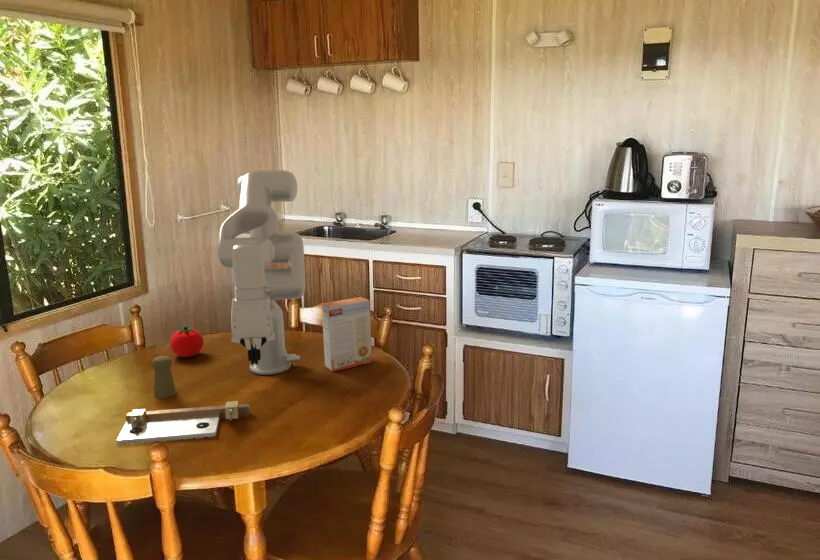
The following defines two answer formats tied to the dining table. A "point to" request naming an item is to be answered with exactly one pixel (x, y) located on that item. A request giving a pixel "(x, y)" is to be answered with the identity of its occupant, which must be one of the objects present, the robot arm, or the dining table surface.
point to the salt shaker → (163, 377)
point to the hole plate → (174, 424)
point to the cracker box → (346, 333)
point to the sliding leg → (232, 410)
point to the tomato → (186, 342)
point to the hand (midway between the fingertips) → (254, 362)
